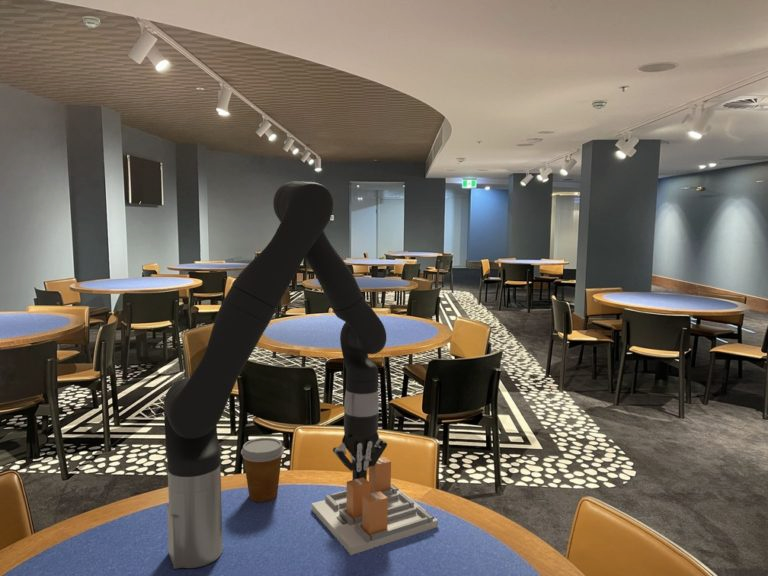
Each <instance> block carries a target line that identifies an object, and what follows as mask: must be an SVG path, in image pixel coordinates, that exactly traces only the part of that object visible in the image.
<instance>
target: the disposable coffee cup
mask: <svg viewBox="0 0 768 576" xmlns="http://www.w3.org/2000/svg"><path fill="white" fill-rule="evenodd" d="M284 452H285V447H284V446H283V443H282V441H280V440H279V439H277V438H273V437H258V438H253V439H250V440H248V441H246V442H245V443H244V444H243V445H242V449H241V451H240V454H241V456H242V458H243V463H244V464H243V465H244V471H245V478H246V483H247V484H246V485H247V490H248V496H249V499H250V500H252V501H253V502H259V503H260V502H261V503H262V502H268V501H272V500H273V499H275V498H276V497H277V496H278V491H279V482H280V476H281V475H280V474H281V467H282V466H281V465H282V455H283V453H284Z"/></svg>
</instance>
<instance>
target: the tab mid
mask: <svg viewBox="0 0 768 576" xmlns="http://www.w3.org/2000/svg"><path fill="white" fill-rule="evenodd" d="M346 490H347V514H348V515H349V516H350V517H351V518H352V519H353V520H354V518H355V517H359V516H362V496H364V495H368V494H370V482H369V480H368V479H367V480H366V479H365V478H364V477H363V478H359V479H355V480H347V481H346Z"/></svg>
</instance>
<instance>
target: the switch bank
mask: <svg viewBox="0 0 768 576" xmlns="http://www.w3.org/2000/svg"><path fill="white" fill-rule="evenodd" d="M381 492H382V493H383V494H384V495H385V496H386V497H388V525H387V530H384V531H381V532H377V533H374V534H371V537H370V536H369V535H368V534H367V533H366V532H365V531H364V530H363V529H362V516H359V517H355V518H354V520H353V519H352V518H351V517H350V516H349V515H348V514H347V489H346V490H340V491H337V492H334V493H330V495H329V494H326V495H325V496H324V498H325V499H324V500H319V501H316V502H312V503H311V504H310V505H311V510H310V511H312V513H314V515H315V514H316V515H315V516H316V517H317V518H318V519H319V520H320V521H321V523H322V524H323V525H324V526H325V527H326V529H327V530H329V531H330V533H331V534H332V535H333V537H335V539H336V538H337V542H339V543H340V544H341V545H342V547H343V546H344V547H343V548H344V549H345V550H346V551H347V552H348V554H349V555H350V556H353V555H356V554H359V553H362V552H365V551H368V550H371V549H375V548H378V547H381V546H384V545H387V544H390V543H392V542H396V541H399V540H403V539H405V538H408V537H412V536H414V535H418V534H420V533H424V532H427V531H430V530H433V529H436V528H438V527H439V520H438V519H437V518H436V517H435V516H434V515H432V514H431V513H430V512H429V511H427V510H426V509H425V508H423V506H421V505H420V504H418V503H417V502H416V501H415V500H413V499H412V498H411V497H409V496H408V495H407V494H405V493H404V492H403V491H402V490H401V489H399V488H398V487H396V486H395V485H394V484H393V483H391V489H389V490H385V491H381ZM371 493H372V492H371V491H370V494H371ZM380 545H381V546H380ZM374 547H375V548H374Z"/></svg>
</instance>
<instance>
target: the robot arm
mask: <svg viewBox="0 0 768 576" xmlns="http://www.w3.org/2000/svg"><path fill="white" fill-rule="evenodd" d="M273 210H274V214H275V216H276V217H277V219H278V221H279V222H280V223H279V225H278V227H277V228H276V232H275V233H274V235H273V236H272V237H271V240H270V241H269V243H268V244H267V245H266V246H265V247H264V248H263V250H261V251H260V252H259V254H258V255H256V257H254V258H253V260H252V261H250V262H249V263H248V264H247V265H246V266H245V268H244V269H242V270H241V272H240V273H239V274H238V276H236V278H235V279H234V281H233V283H232V285H231V286H230V288H229V290H228V292H227V293H226V296H225V297H224V299H223V301H222V303H221V305H220V307H219V309H218V311H217V313H216V316H215V319H214V322H213V326H212V329H211V332H210V335H209V338H208V342H207V345H206V349H205V351H204V353H203V355H202V358H201V360H200V362H199V363H198V365H197V367H196V368H195V370H194V371H193V373H192V374H191V376H187V377H184V378H181V379H179V380H178V379H177V381H176V382H174V383H173V384H171V386H170V387H169V389H168V390H167V392H166V394H165V397H164V400H163V417H164V422H163V423H164V437H165V439H164V441H165V442H164V443H165V454H166V463H167V485H168V486H167V488H168V489H167V490H168V491H167V493H168V504H167V505H166V515H167V516H166V518H167V521H166V522H167V545H168V547H167V548H168V549H167V550H168V551H167V552H168V554H169V559H170V561H171V564H172V566H173V569H175V570H177V569H183V568H184V569H195V568H200V567H203V566H207V565H209V564H212V563H213V562H215V561H216V560H217V559H219V557H221V555H222V553H223V550H224V549H223V541H224V540H223V513H222V512H223V510H222V507H223V506H222V475H221V472H222V468H221V449H220V443H219V442H220V441H219V438H218V437H219V436H218V430H217V429H218V428H217V427H218V426H217V425H218V423H219V422H220V420H221V418H222V416H223V413H224V411H225V409H226V406H227V405H228V401H229V399H230V397H231V395H232V392H233V389H234V388H235V386H236V385H235V384H236V382H237V381H238V379H239V376H240V374H241V373H242V370H243V369H244V367H245V365H246V364H247V362H248V361H249V359H250V357H251V355H252V354H253V352H254V350H255V349H256V347H257V345H258V343H259V341H260V339H261V337H262V336H263V334H264V332H265V331H266V329H267V328H268V326H269V324H270V322H271V321H272V319H273V317H274V315H275V313H276V311H277V309H279V306H280V304H281V302H282V300H283V298H284V295H285V294H286V292H287V291H288V288H289V286H291V284H292V281H293V279H294V277H295V276H296V273H297V272H298V270H299V268H300V266H301V265H302V263H303V261H304V259H305V260H306V261H307V263H308V265H309V267H310V269H311V270H312V272H313V274H314V275H315V278H316V279H317V281H318V283H319V285H320V288H321V289H322V291H323V293H324V296H325V297H326V299H327V302H328V304H329V306H330V307H331V310H332V312H333V313H334V315H335V316H336V317H337V319H340V320H341V321H343V322H344V323H343V325H342V327H341V329H340V333H339V335H340V336H339V342H340V343H339V344H340V348H341V353H342V358H343V362H344V367H345V370H346V375H345V395H344V401H343V402H344V405H343V410H344V411H343V412H344V413H343V432H344V434H343V436H342V440H341V444H339V446H338V447H336V446H334V447H333V449H332V452H333V453H334V454H335V456H336V457H337V458H338V459H339V460H340V462H341V463H342V464H343V465H344V466H345V468H347V469H348V470H349V471H351V472H352V480H355V479H359V478H363V477H364V478H365V479H366V480H367V481H368V479H367V476H368V474H367V473H368V470H369V467H370V466H374V465H375V464H376V462H377V461H378V459H379V458H380V457H382V454H383V453H384V452H385V450H386V448H387V446H388V443H387V442H386V441H384V440H383V439H381V438H380V435H379V433H378V429H379V409H380V408H379V407H380V399H379V398H380V397H379V368H378V366H377V364H376V363H374V362H373V361H372V360H371V359H370V358H369V355H375V354H378V353H380V352H382V351H383V349H384V348H385V346H386V344H387V331H386V327H385V326H384V323H383V322H382V320H381V319H380V318H379V316H378V315H377V313H376V312H375V311H374V310H373V308H372V307H371V305H370V304H369V303H368V302H367V301H366V300H365V298H364V295H363V292H362V290H361V289H360V287H359V283H358V282H357V280H356V278H355V276H354V274H353V272H352V270H351V269H350V268H349V266H348V264H347V263H346V262H345V261H344V259H343V258H342V257H341V256H340V254H339V253H338V251H337V250H336V249H335V248H334V246H333V245H332V244H331V242H330V240H329V239H328V237H327V235H326V233H325V231H324V230H325V228H326V227H327V226H328V223H330V220H331V218H332V215H333V213H334V200H333V196H332V192H331V191H330V190H329V189H328V188H327V186H325V185H323V184H321V183H318V182H313V181H296V180H295V181H289V182H286V183H284V184H282V185H280V187H278V188H277V190H276V191H275V193H274V197H273ZM347 451H348V453H349V454H350V459H351V461H350V459H349V458H348V457H347V456H346V455H347Z"/></svg>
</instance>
